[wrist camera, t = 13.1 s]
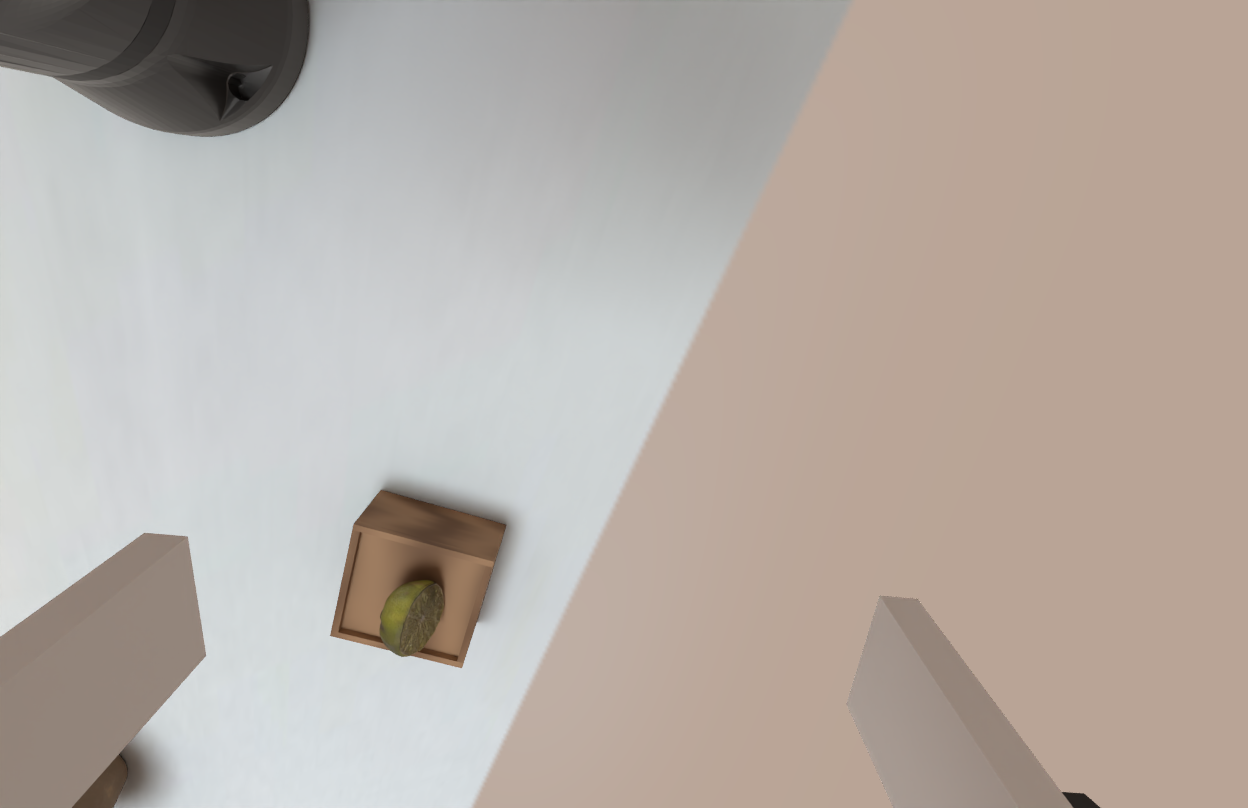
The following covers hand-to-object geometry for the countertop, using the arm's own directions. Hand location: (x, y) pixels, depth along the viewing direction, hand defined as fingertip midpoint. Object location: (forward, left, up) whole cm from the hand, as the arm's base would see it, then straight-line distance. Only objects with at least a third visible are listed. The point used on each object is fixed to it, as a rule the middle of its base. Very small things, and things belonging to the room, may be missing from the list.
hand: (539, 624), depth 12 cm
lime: (-11, -21, -27) cm, 36 cm away
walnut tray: (-11, -21, -32) cm, 40 cm away
